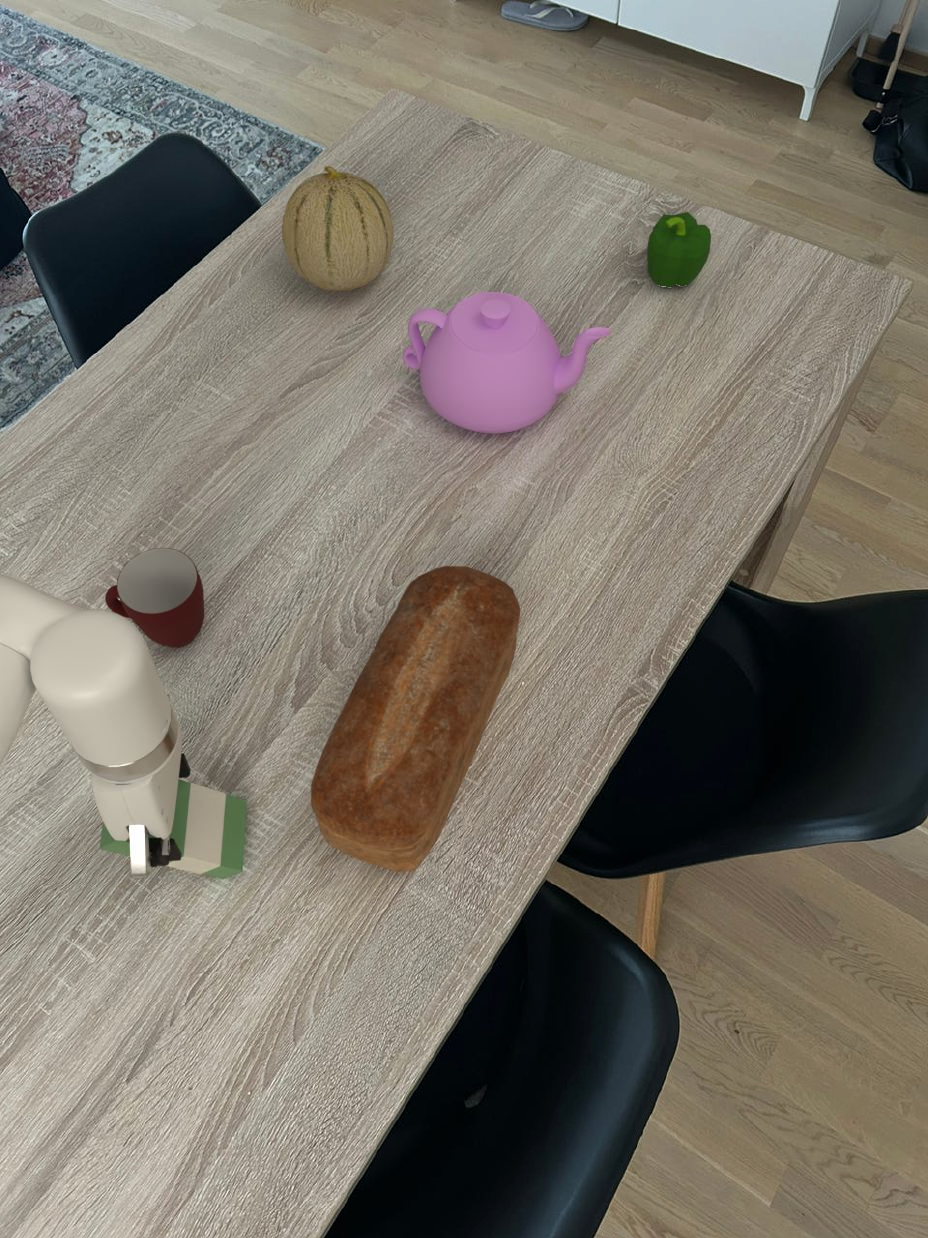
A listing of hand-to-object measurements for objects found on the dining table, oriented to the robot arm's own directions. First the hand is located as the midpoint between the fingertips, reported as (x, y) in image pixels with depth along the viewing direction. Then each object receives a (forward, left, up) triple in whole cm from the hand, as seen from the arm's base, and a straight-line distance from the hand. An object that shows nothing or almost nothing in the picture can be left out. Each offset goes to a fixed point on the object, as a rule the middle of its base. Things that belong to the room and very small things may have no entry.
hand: (168, 814), depth 93 cm
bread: (+23, +11, -8) cm, 26 cm away
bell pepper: (+59, +79, -8) cm, 99 cm away
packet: (-1, 0, -3) cm, 3 cm away
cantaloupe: (+14, +80, -8) cm, 82 cm away
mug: (-4, +24, -8) cm, 26 cm away
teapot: (+34, +58, -8) cm, 68 cm away
